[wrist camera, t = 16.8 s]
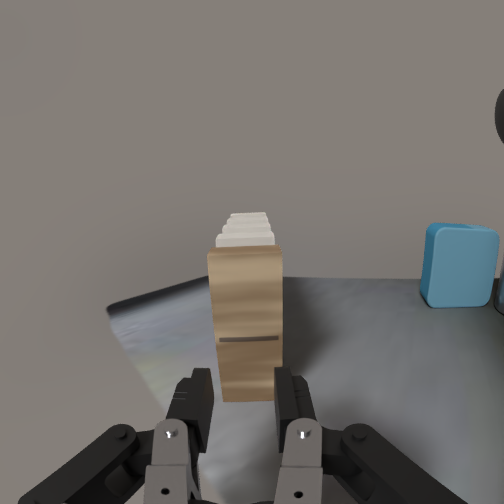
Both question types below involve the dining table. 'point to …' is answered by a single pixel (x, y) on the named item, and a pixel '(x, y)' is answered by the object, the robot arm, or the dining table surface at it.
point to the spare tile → (247, 319)
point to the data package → (458, 265)
